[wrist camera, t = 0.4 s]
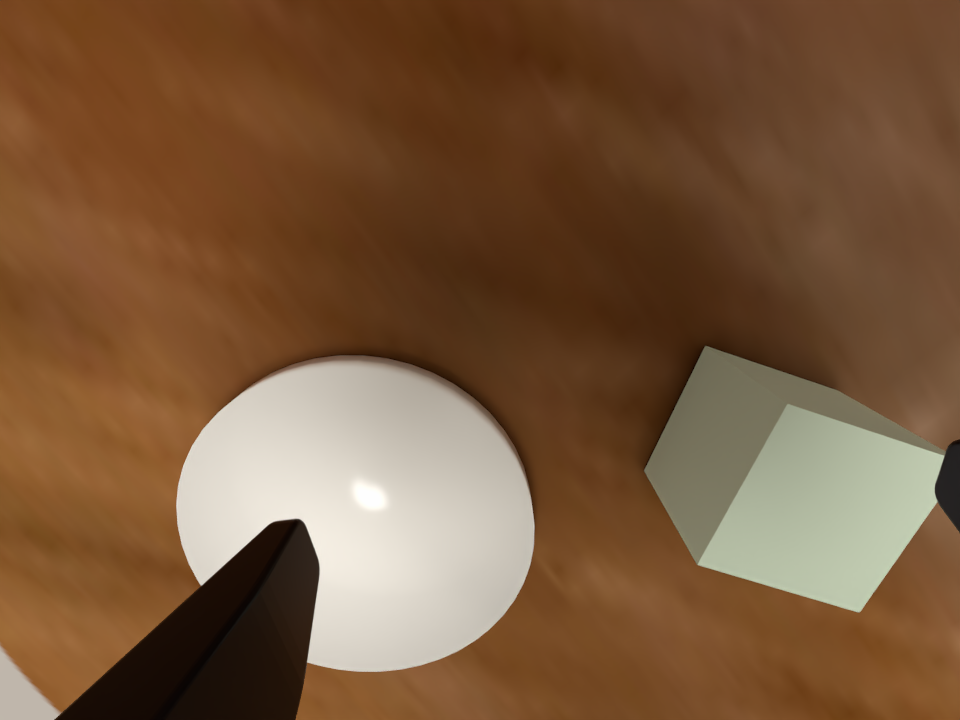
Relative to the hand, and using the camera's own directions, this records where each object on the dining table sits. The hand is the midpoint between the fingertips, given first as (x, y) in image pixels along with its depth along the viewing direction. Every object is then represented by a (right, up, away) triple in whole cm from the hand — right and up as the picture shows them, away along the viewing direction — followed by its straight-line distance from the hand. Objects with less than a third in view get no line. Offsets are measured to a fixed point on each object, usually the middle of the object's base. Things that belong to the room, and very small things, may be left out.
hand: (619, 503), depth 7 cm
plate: (-7, -5, +16) cm, 18 cm away
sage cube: (+9, -1, +15) cm, 17 cm away
